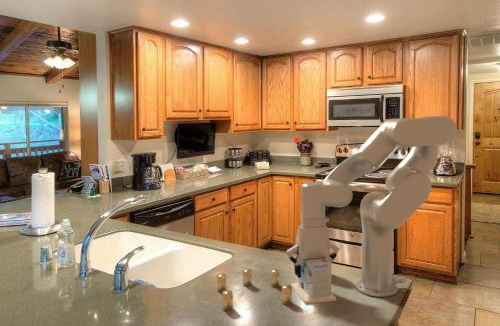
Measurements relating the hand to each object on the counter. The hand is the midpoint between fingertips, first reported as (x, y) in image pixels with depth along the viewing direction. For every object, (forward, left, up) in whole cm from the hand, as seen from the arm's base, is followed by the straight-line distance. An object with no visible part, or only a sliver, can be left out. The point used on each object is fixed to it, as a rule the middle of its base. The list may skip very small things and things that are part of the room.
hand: (312, 275), depth 128 cm
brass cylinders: (+19, -3, -6) cm, 20 cm away
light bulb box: (0, 0, -5) cm, 5 cm away
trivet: (0, 0, -6) cm, 6 cm away
